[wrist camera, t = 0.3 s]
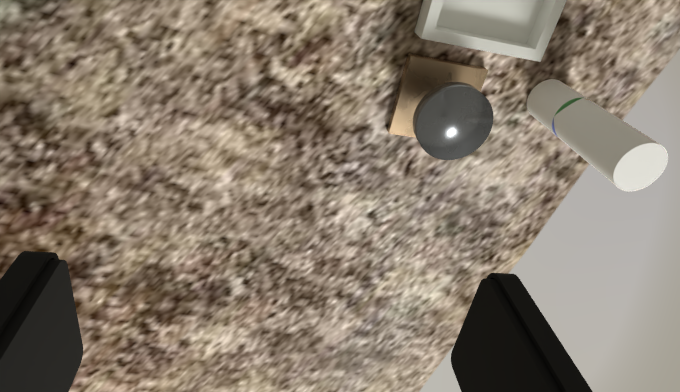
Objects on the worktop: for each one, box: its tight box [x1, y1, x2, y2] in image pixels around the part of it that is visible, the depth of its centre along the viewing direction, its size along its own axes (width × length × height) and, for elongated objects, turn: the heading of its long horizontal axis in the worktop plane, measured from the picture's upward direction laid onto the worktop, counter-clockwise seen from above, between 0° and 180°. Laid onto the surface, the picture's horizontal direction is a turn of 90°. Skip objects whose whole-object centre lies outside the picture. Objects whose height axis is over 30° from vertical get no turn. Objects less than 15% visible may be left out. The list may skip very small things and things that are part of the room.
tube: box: [527, 79, 668, 191], centre depth 42 cm, size 4×4×15 cm
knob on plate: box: [387, 53, 493, 160], centre depth 44 cm, size 8×8×7 cm
